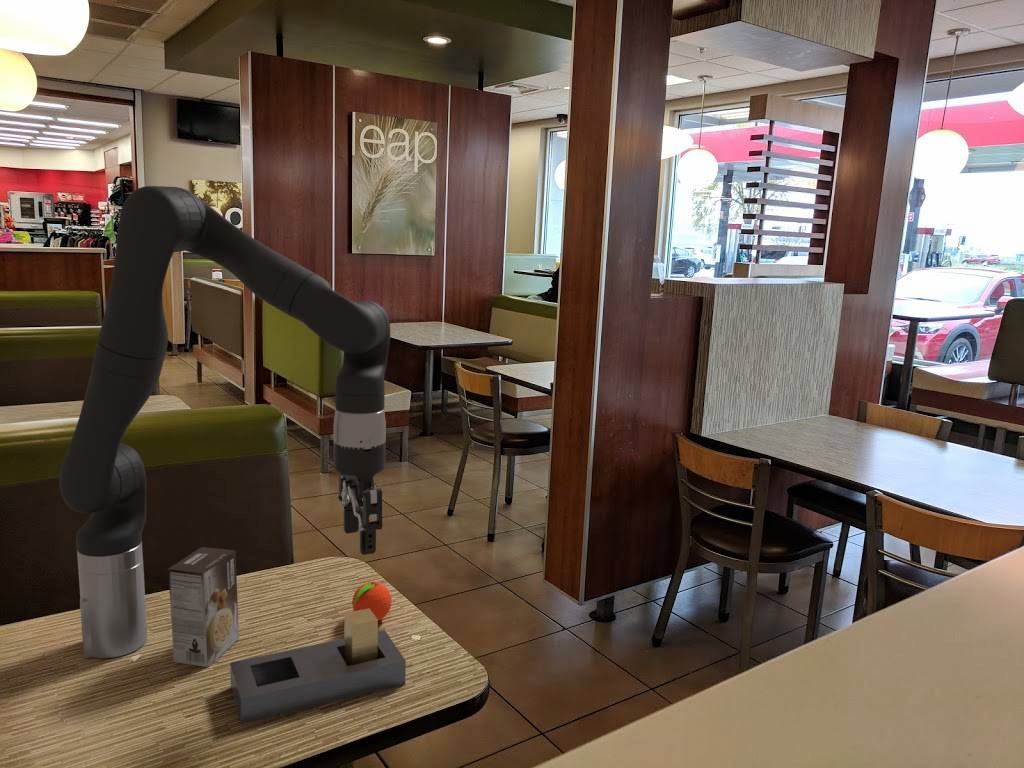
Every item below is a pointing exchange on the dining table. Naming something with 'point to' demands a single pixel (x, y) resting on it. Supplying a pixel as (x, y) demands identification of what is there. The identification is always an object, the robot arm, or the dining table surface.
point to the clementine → (372, 599)
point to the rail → (310, 678)
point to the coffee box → (203, 606)
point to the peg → (360, 637)
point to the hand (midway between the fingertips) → (359, 542)
